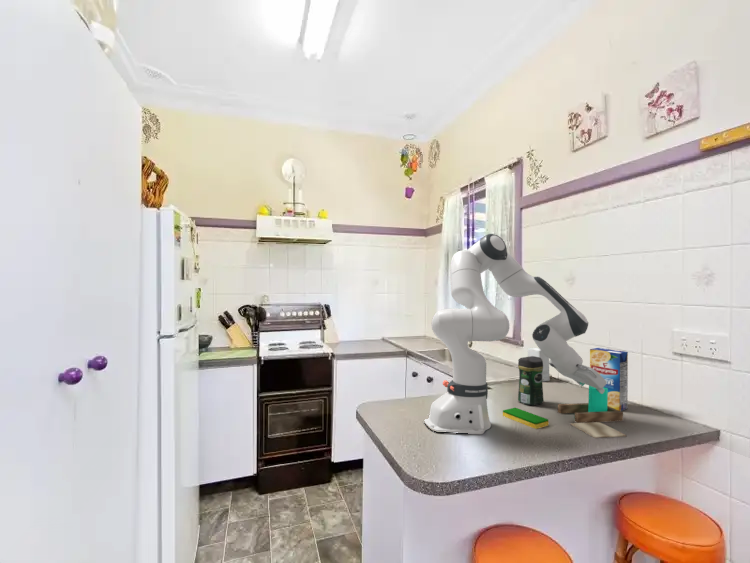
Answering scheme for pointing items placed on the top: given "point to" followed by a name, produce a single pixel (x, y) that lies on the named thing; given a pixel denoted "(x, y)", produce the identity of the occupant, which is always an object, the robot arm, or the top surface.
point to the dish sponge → (526, 418)
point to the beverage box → (612, 374)
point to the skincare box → (545, 359)
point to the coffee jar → (530, 380)
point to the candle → (597, 400)
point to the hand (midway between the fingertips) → (592, 388)
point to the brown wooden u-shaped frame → (590, 413)
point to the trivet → (598, 430)
